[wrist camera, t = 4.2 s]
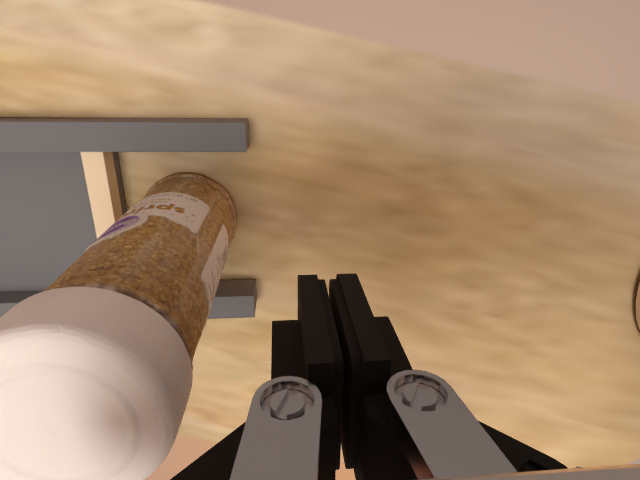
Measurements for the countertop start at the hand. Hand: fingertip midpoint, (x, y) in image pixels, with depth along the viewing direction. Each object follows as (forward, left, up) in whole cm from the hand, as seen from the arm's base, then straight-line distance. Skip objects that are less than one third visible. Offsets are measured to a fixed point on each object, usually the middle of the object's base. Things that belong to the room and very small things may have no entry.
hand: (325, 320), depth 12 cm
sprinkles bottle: (+6, 0, -10) cm, 12 cm away
